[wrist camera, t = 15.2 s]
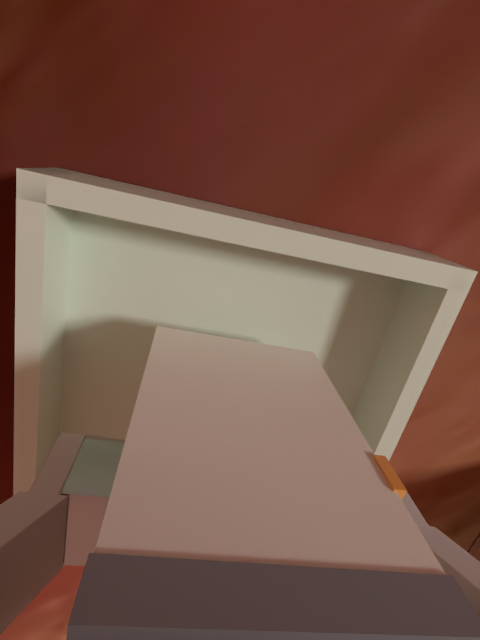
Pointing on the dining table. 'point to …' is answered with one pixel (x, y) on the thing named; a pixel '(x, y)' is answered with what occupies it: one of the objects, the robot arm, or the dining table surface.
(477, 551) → the box
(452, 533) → the dining table surface
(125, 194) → the parts tray
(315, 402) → the block
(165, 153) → the dining table surface
